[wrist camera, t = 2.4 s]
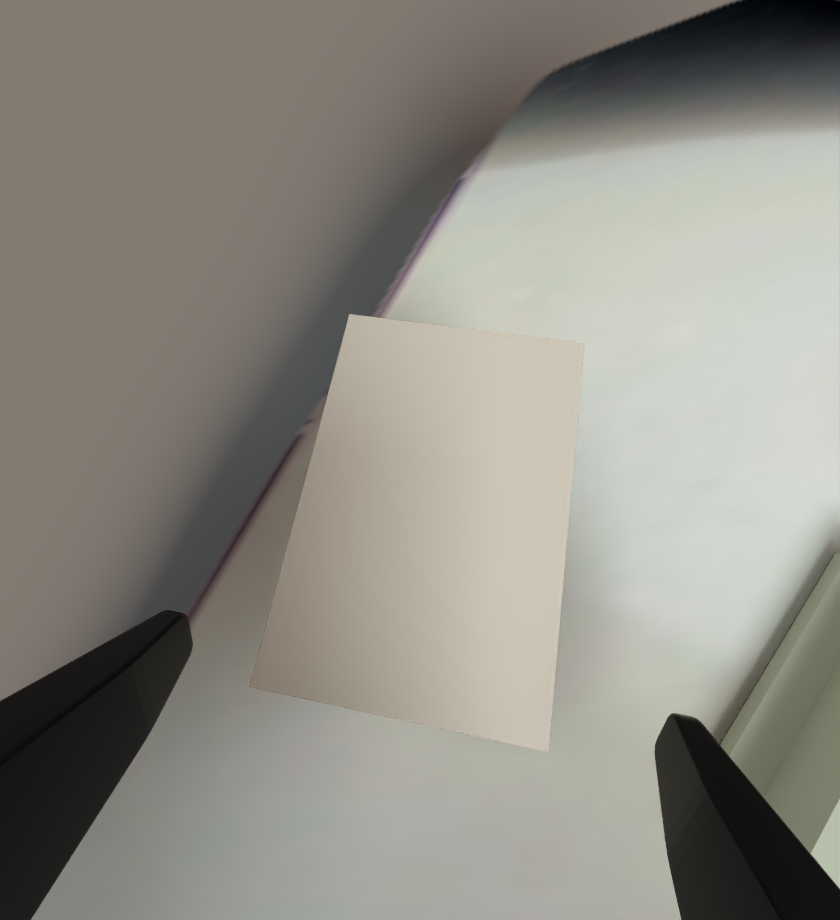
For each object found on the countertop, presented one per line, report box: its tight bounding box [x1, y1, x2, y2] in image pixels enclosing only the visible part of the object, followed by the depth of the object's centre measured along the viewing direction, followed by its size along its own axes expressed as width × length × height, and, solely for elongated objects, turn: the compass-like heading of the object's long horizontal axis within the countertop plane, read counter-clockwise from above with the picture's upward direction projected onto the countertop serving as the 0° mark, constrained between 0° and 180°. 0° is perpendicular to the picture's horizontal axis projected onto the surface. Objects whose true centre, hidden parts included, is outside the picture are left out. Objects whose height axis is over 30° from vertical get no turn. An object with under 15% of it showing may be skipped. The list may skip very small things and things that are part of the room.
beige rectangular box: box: [249, 314, 584, 752], centre depth 13 cm, size 6×4×13 cm, turn 170°
